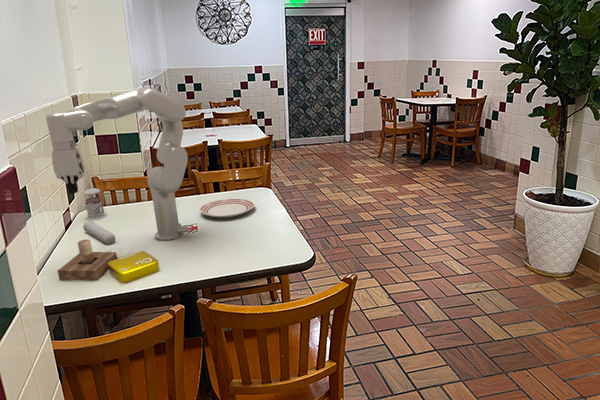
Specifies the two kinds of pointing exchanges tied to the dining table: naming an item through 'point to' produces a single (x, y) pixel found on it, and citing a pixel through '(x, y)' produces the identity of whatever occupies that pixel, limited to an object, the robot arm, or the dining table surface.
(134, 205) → the dining table surface
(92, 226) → the tube
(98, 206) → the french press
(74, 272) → the board
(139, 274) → the element tile
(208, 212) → the dinner plate
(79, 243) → the peg
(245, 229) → the dining table surface
